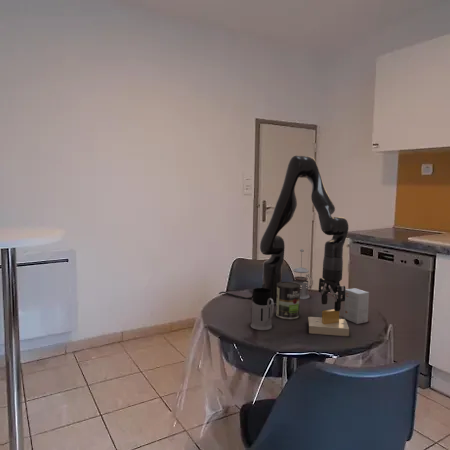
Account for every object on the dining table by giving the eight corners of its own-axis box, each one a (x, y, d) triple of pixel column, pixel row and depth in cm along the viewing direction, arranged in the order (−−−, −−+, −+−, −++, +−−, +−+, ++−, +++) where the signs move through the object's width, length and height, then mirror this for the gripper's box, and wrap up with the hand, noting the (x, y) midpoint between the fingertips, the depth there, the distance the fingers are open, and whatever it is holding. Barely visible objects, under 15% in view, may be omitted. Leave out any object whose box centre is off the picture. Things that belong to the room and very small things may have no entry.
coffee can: (304, 317, 166) (305, 285, 165) (285, 320, 162) (286, 288, 160) (289, 310, 176) (290, 280, 174) (271, 313, 171) (272, 282, 169)
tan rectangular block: (324, 324, 150) (324, 311, 149) (321, 322, 151) (322, 309, 151) (339, 322, 152) (339, 309, 152) (336, 320, 154) (336, 308, 153)
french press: (298, 292, 206) (299, 247, 204) (316, 297, 198) (318, 249, 195) (286, 295, 200) (288, 248, 197) (305, 300, 191) (307, 251, 189)
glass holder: (266, 321, 161) (267, 286, 159) (282, 333, 147) (283, 295, 146) (247, 323, 158) (247, 288, 156) (262, 336, 144) (263, 297, 143)
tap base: (309, 333, 148) (309, 325, 148) (307, 323, 159) (308, 316, 159) (349, 336, 145) (349, 328, 145) (345, 326, 156) (345, 318, 156)
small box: (368, 322, 161) (369, 292, 160) (357, 324, 159) (358, 293, 157) (354, 316, 169) (355, 287, 167) (343, 318, 166) (344, 289, 165)
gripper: (314, 264, 155) (312, 302, 157) (335, 272, 142) (333, 314, 143) (329, 263, 158) (327, 301, 159) (352, 270, 144) (350, 312, 146)
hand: (330, 307), depth 151 cm, fingers open, 8 cm apart
